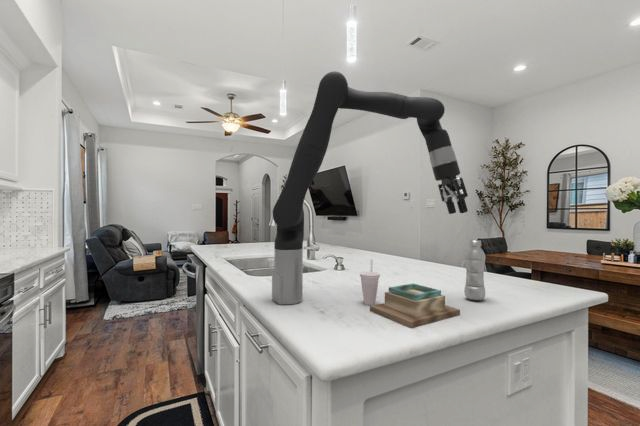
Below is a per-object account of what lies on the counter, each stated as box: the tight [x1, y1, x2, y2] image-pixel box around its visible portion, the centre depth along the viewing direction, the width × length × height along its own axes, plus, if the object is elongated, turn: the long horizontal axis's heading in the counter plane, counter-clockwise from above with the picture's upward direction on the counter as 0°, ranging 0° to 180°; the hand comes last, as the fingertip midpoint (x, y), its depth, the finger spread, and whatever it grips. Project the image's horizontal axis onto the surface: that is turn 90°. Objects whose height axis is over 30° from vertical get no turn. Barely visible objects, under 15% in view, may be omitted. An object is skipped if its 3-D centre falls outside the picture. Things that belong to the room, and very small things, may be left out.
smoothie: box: [359, 259, 381, 306], centre depth 103 cm, size 6×6×14 cm
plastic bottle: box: [464, 239, 487, 301], centre depth 108 cm, size 6×7×20 cm
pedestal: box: [369, 283, 461, 329], centre depth 94 cm, size 20×16×7 cm
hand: (458, 213), depth 101 cm, fingers open, 8 cm apart
